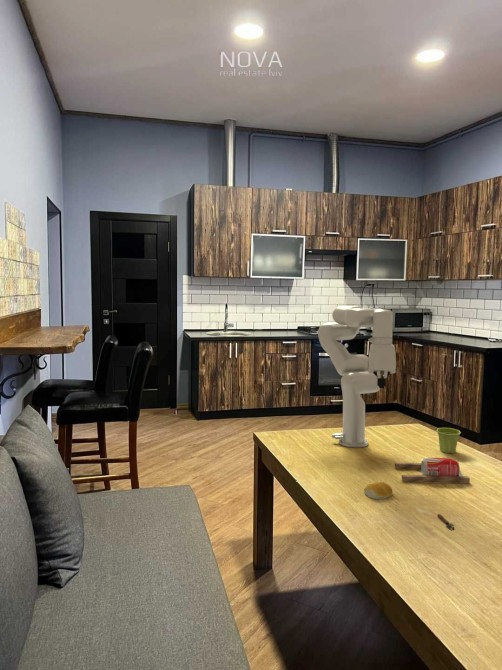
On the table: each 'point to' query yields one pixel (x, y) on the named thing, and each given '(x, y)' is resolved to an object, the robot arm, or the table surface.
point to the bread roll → (378, 490)
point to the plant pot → (448, 439)
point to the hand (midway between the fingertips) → (381, 387)
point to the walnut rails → (426, 477)
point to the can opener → (445, 522)
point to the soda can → (440, 467)
